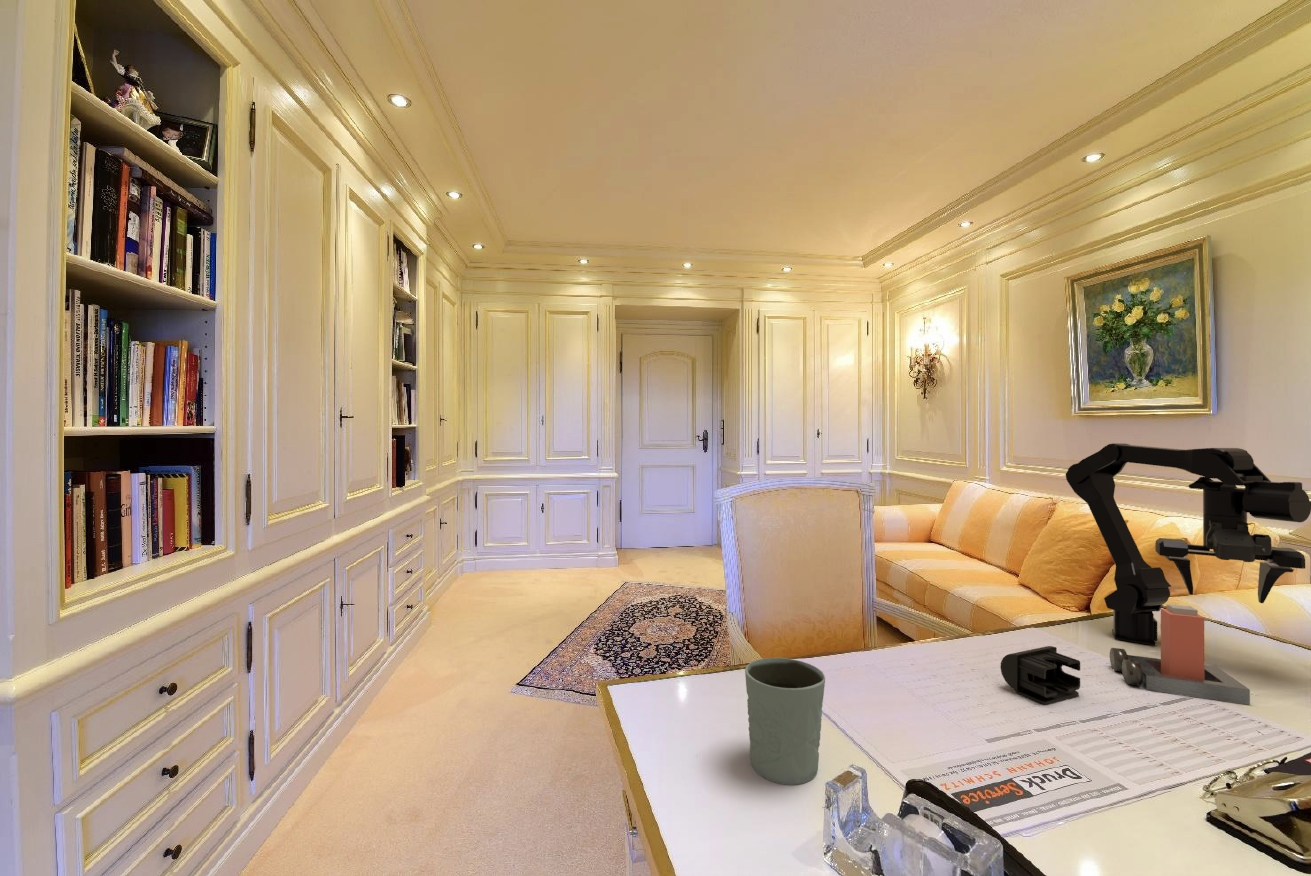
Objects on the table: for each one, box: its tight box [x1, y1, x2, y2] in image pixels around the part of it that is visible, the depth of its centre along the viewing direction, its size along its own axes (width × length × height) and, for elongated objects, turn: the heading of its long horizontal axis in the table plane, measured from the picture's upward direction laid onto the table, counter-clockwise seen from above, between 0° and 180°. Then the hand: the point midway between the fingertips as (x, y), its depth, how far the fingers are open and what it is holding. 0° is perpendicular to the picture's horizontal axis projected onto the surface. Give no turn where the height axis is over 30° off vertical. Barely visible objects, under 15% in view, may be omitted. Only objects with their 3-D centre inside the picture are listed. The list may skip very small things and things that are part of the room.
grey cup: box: [744, 657, 826, 786], centre depth 71 cm, size 10×10×12 cm
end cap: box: [999, 645, 1081, 706], centre depth 92 cm, size 10×7×7 cm
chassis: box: [1109, 647, 1251, 706], centre depth 95 cm, size 10×15×4 cm, turn 66°
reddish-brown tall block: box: [1160, 603, 1205, 680], centre depth 95 cm, size 4×4×14 cm
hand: (1225, 598), depth 102 cm, fingers open, 9 cm apart
